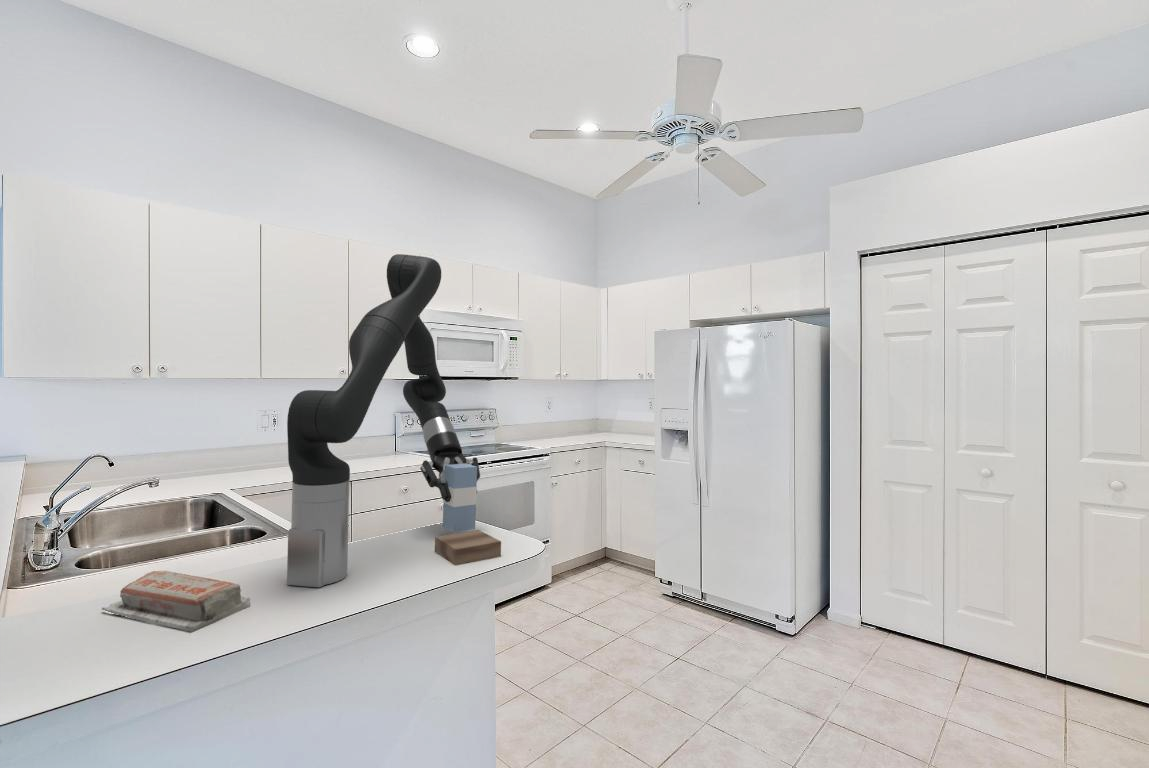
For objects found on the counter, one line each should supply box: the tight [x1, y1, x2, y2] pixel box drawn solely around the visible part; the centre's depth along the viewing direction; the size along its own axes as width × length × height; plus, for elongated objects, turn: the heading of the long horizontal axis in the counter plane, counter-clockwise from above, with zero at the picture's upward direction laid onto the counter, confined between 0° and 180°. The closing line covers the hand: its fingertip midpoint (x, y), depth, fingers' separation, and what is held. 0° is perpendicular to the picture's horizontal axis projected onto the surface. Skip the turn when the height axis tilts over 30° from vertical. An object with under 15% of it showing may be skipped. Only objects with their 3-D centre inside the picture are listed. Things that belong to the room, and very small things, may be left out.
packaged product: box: [101, 570, 251, 633], centre depth 82 cm, size 18×5×10 cm
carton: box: [442, 464, 478, 533], centre depth 123 cm, size 6×6×14 cm
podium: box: [434, 529, 502, 566], centre depth 112 cm, size 10×10×3 cm
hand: (461, 498), depth 122 cm, fingers closed on carton, 5 cm apart
